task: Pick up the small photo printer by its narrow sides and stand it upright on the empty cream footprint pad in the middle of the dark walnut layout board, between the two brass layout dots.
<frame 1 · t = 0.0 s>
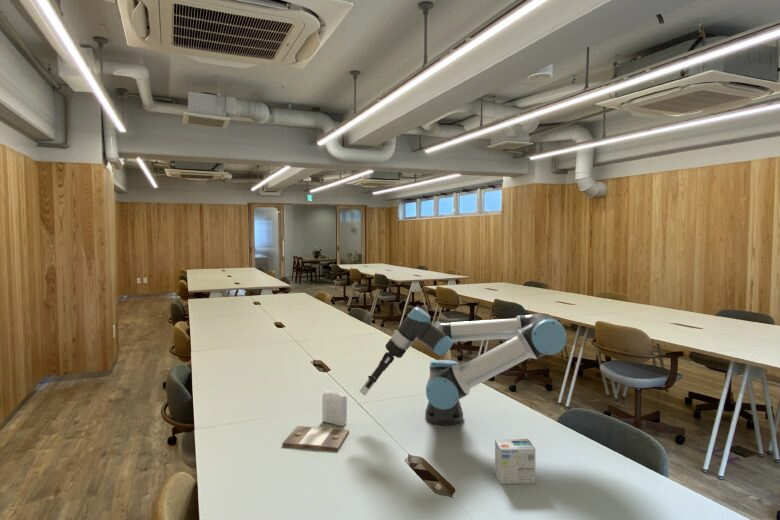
hand: (366, 387, 167), 15 cm above the table, tool tilted 35°, fingers open, 13 cm apart
photo printer: (334, 423, 171), on the table
layout board: (316, 439, 157), on the table
light bulb box: (514, 479, 131), on the table
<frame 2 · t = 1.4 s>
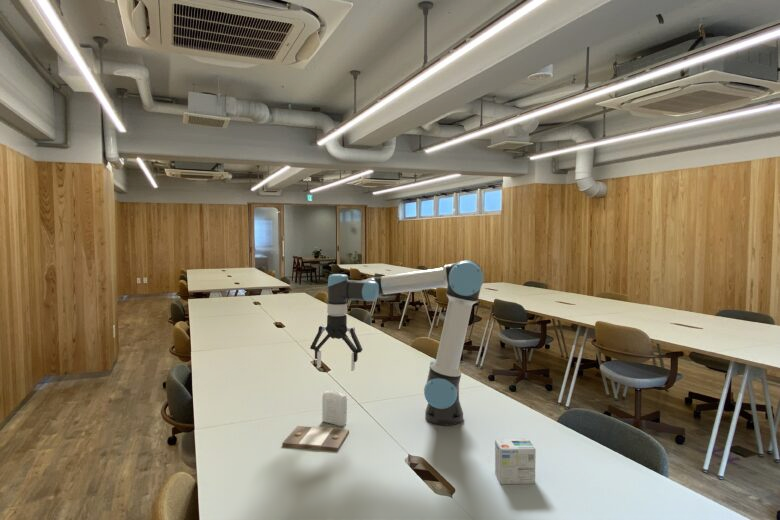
hand: (335, 368, 170), 21 cm above the table, tool pointing down, fingers open, 13 cm apart
nothing on the table moved.
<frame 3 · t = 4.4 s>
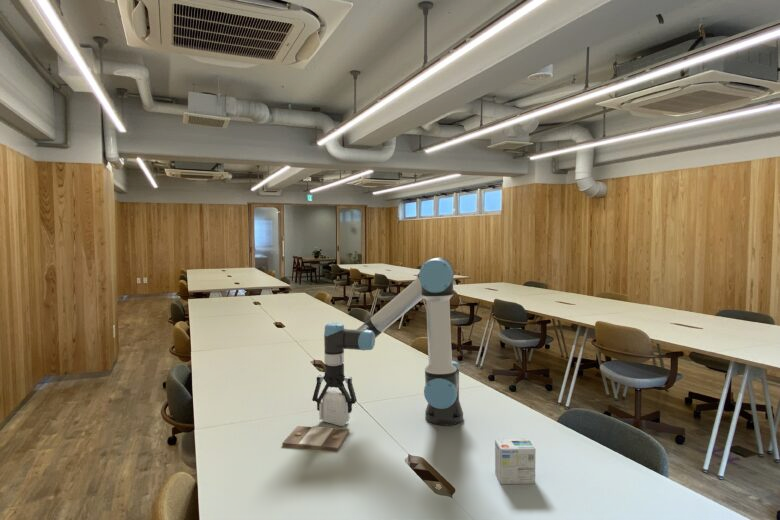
hand: (334, 419, 171), 1 cm above the table, tool pointing down, fingers closed on photo printer, 10 cm apart
photo printer: (334, 423, 171), on the table, touching gripper
everything else where it was.
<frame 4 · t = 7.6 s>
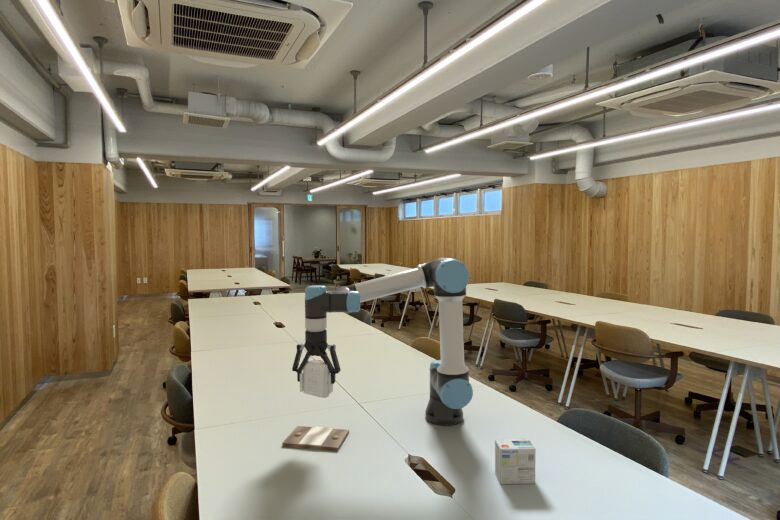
hand: (316, 391, 156), 17 cm above the table, tool pointing down, fingers closed on photo printer, 10 cm apart
photo printer: (316, 395, 156), point 16 cm above the table, touching gripper
everything else where it was.
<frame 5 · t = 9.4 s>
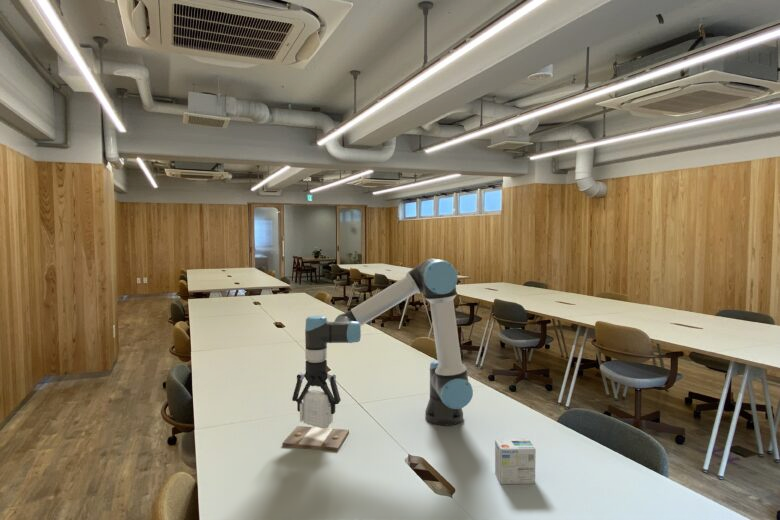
hand: (316, 421, 156), 7 cm above the table, tool pointing down, fingers closed on photo printer, 10 cm apart
photo printer: (316, 425, 156), point 5 cm above the table, touching gripper
everything else where it was.
when the fingers open (4 cm above the table, at t = 11.0 s): photo printer stays where it is, resting on layout board.
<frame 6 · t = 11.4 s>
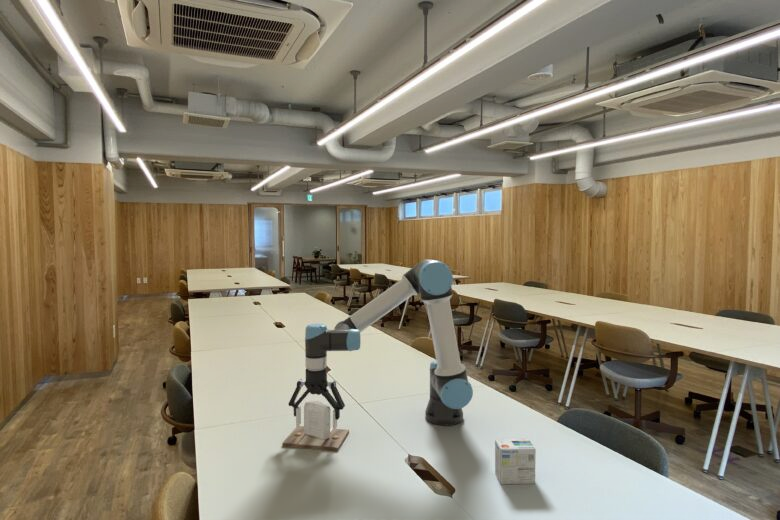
hand: (316, 426, 156), 5 cm above the table, tool pointing down, fingers open, 13 cm apart
photo printer: (317, 435, 156), point 1 cm above the table, touching layout board
everything else where it was.
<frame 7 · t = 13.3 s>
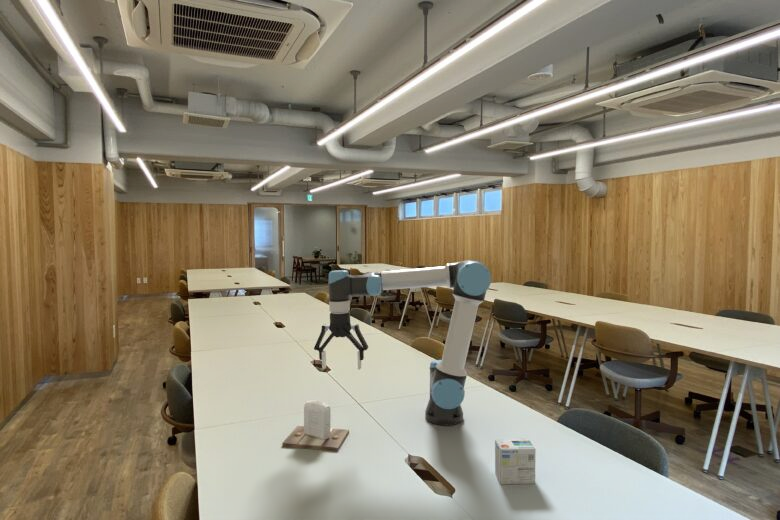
hand: (341, 368, 163), 23 cm above the table, tool pointing down, fingers open, 13 cm apart
nothing on the table moved.
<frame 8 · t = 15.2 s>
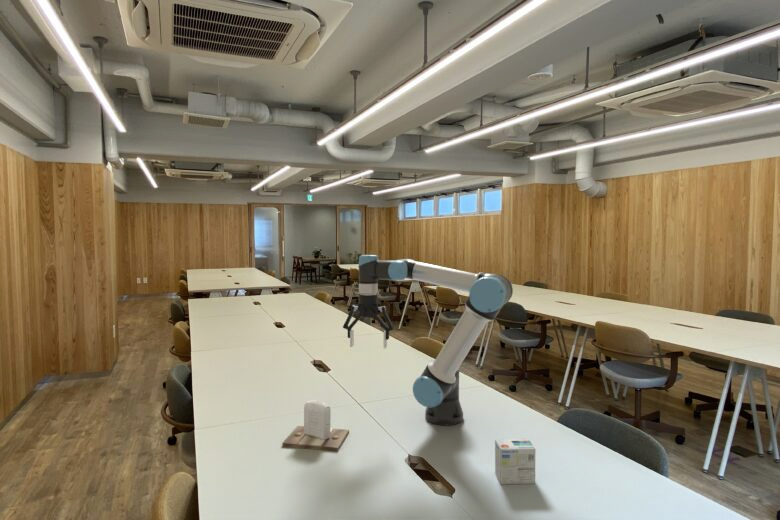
hand: (368, 346, 174), 29 cm above the table, tool pointing down, fingers open, 13 cm apart
nothing on the table moved.
at the end: photo printer inside the target area on the layout board (0.2 cm from its centre), point 1.3 cm above the layout board's base; photo printer tilted 0°; the gripper is holding nothing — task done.
